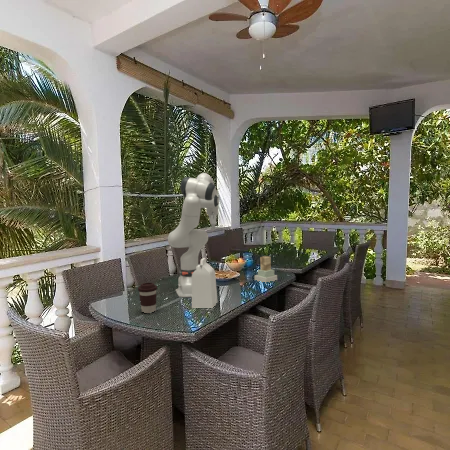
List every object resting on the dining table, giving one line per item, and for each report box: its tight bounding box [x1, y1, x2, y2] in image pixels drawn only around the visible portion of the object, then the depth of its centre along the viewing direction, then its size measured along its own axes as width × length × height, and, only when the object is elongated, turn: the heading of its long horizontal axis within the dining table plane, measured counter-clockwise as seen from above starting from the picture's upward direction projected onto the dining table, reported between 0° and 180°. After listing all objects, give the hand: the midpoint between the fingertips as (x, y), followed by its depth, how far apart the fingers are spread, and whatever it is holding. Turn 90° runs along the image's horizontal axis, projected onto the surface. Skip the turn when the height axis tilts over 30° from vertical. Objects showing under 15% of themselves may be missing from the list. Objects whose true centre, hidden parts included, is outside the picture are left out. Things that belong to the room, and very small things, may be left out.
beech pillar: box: [259, 255, 272, 271], centre depth 244 cm, size 5×5×9 cm
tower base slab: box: [254, 274, 278, 284], centre depth 245 cm, size 11×11×4 cm
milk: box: [191, 257, 218, 309], centre depth 194 cm, size 12×12×26 cm
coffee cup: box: [137, 282, 158, 314], centre depth 187 cm, size 10×10×15 cm
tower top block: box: [257, 268, 275, 278], centre depth 244 cm, size 8×8×4 cm
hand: (213, 230), depth 262 cm, fingers open, 8 cm apart
